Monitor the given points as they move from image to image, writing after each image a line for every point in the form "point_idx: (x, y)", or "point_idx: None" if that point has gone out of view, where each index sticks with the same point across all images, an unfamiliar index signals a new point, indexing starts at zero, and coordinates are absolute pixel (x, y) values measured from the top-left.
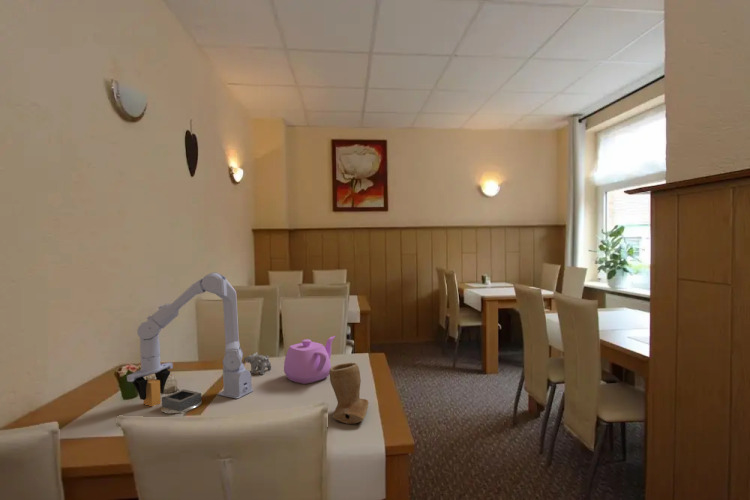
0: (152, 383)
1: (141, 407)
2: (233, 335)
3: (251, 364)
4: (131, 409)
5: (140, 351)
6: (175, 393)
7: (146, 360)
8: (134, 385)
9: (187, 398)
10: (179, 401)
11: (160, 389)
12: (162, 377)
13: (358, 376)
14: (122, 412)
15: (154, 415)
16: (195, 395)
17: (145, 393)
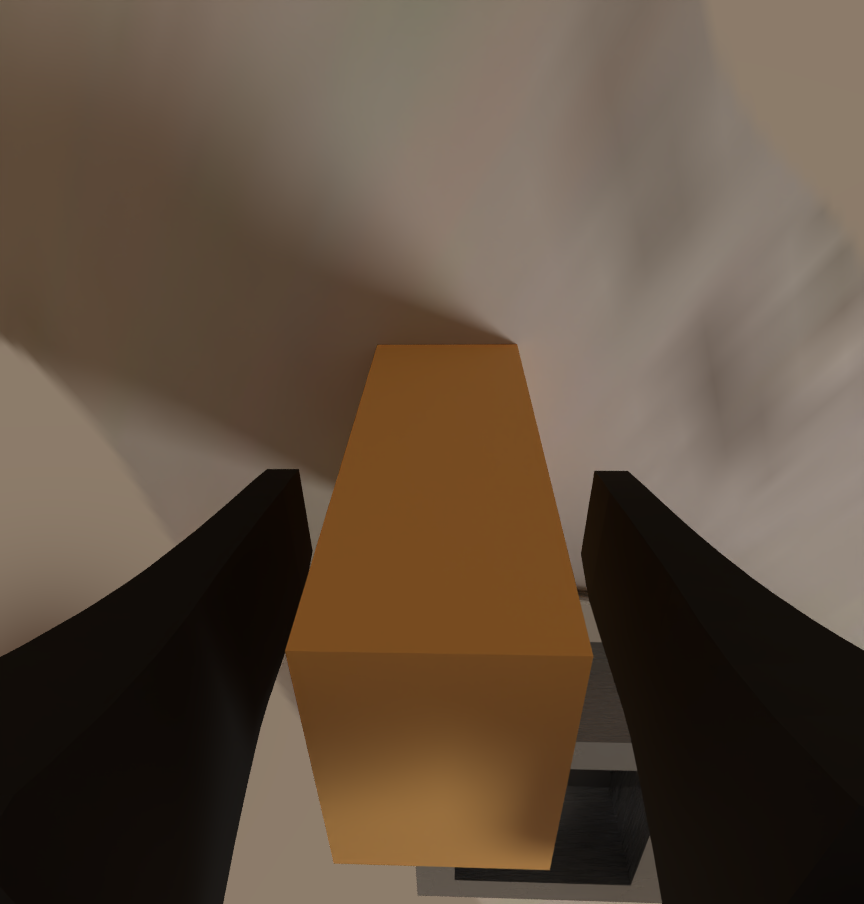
0: (364, 851)
1: (314, 395)
2: None
3: None
4: (199, 327)
5: None
6: (580, 762)
7: None
8: (15, 660)
9: (510, 895)
10: (429, 888)
11: (599, 576)
12: (671, 885)
13: None
14: (76, 306)
15: (288, 676)
16: (596, 900)
17: (273, 648)
